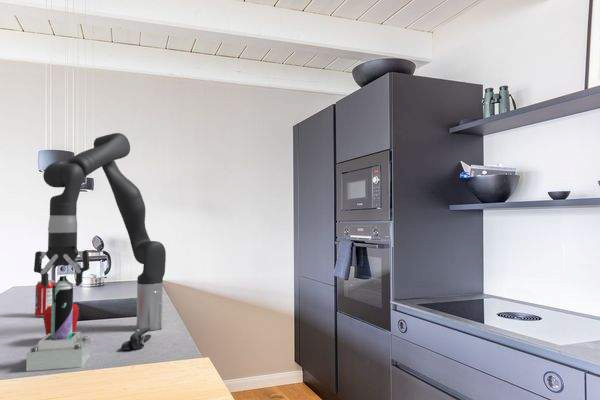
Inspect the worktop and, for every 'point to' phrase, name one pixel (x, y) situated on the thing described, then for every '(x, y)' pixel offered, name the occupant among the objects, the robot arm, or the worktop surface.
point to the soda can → (43, 297)
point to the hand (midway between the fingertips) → (61, 286)
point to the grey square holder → (59, 353)
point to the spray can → (62, 309)
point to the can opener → (137, 339)
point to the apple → (48, 318)
